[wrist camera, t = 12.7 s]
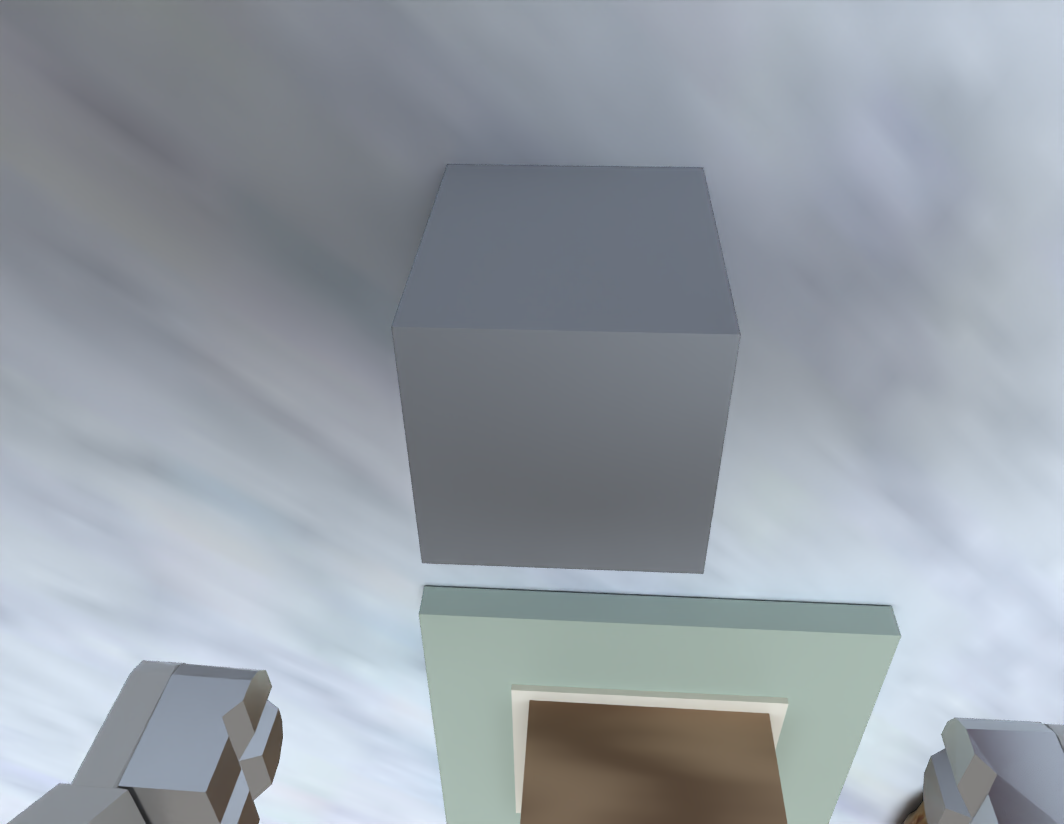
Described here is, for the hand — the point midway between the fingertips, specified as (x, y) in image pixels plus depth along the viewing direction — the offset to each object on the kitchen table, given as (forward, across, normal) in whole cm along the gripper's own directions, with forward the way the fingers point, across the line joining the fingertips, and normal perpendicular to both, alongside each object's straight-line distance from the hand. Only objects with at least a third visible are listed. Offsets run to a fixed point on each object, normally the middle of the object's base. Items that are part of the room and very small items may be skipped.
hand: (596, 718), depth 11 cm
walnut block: (+9, -2, +16) cm, 19 cm away
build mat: (+11, -2, +16) cm, 19 cm away
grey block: (+10, +1, 0) cm, 11 cm away
